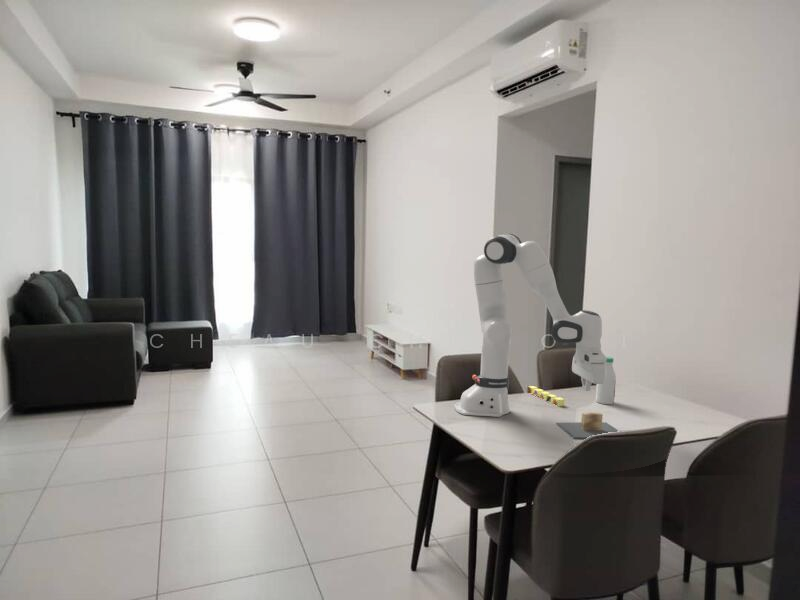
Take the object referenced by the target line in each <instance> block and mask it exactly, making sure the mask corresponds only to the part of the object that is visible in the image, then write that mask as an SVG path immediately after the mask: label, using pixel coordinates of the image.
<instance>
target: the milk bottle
mask: <svg viewBox="0 0 800 600" xmlns="http://www.w3.org/2000/svg"><path fill="white" fill-rule="evenodd" d="M605 357H606V358H607V361H606V363H604V364H605V378H604V382H603V383H602V384H596V389H595V402H597V404H598V403H599V404H603V405H613V404H614V403H615V398H616V397H615V396H616V395H615V394H616V381H617V380H616V379H617V378H616V372H615V370H614V367H613V363H614V358H613V357H609V356H605Z"/></svg>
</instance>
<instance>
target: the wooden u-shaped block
mask: <svg viewBox="0 0 800 600" xmlns="http://www.w3.org/2000/svg"><path fill="white" fill-rule="evenodd" d="M603 416H604V415H603V413H601V412H582V413H581V429H582V430H602V422H603Z"/></svg>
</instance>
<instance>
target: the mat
mask: <svg viewBox="0 0 800 600" xmlns="http://www.w3.org/2000/svg"><path fill="white" fill-rule="evenodd" d="M555 424H556V425H557V426H558V427H560V429H561V430H563V431H564V432H565V433H566V434H567V435H569V436H570V437H573V438H572V439H573V440H585V439H584V438H587V437H589V436H592V435H597V434H602V433H608V432H617V431H619V430H618V429H617V428H616V427H614V426H613V425H611V424H609V422H604V421H602V430H582V429H581V422H580V421H579V422H578V421H577V422H575V421H574V422H556V423H555ZM578 438H580V439H578Z"/></svg>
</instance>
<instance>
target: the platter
mask: <svg viewBox="0 0 800 600" xmlns="http://www.w3.org/2000/svg"><path fill="white" fill-rule="evenodd" d="M526 391H527V392H526V393H528V394H529V393H533V394H532V395H534V394H535V395H536V396H540V397H539V399H540V398H542V399H546V400H545V401H546V402H547V401H549V402H553V403H552V404H555V405H557V406H556V407H564V406H565V399H564V398H562V397H560V396H559V397H558V395H555V394H553V393H552V394H551V392H548V391H545V390H543V389H542V388H538V387H537V386H535V385H534V386H533V385H529V386H527V390H526ZM536 396H535V397H536ZM542 399H541V400H542ZM549 402H548V403H549ZM555 405H554V406H555ZM563 405H564V406H563Z"/></svg>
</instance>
